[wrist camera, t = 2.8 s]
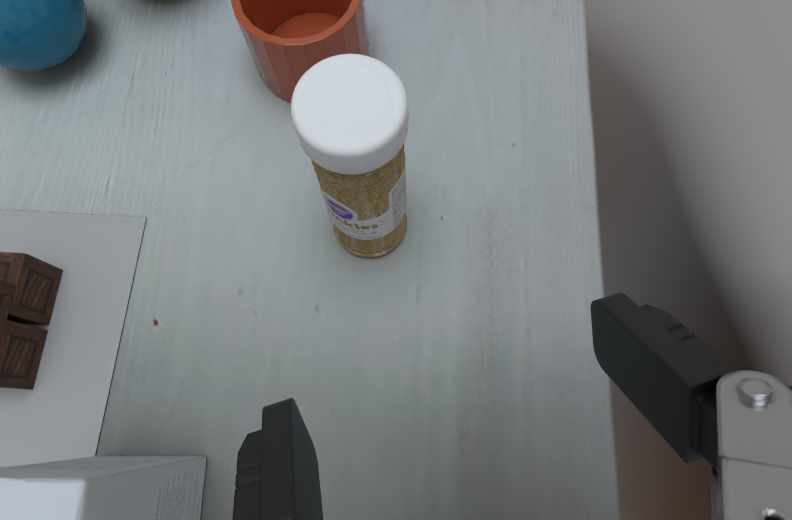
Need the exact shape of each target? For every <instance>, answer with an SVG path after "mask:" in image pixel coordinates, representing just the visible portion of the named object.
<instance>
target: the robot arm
mask: <svg viewBox="0 0 792 520" xmlns="http://www.w3.org/2000/svg"><path fill="white" fill-rule="evenodd" d="M591 319H592V333H593V346H594V352H595V355H596V358H597V360H598V362H599V364H600V366H601V368H602V369H603V370H604V372H605V373H606V374H607V375H608V376H609V377H610V378H611V379H612V381H613V382H614V383H615V384H616V385H617V386H618V387H619V388H620V390H621V391H622V392H623V393H624V394H625V395H626V396H627V397H628V399H629V400H630V401H631V402H632V403H633V404H634V405H635V406H636V408H637V409H638V410H639V411H640V412H641V413H642V414H643V415H644V417H645V418H646V419H647V420H648V421H649V422H650V423H651V424H652V425H653V427H654V428H655V429H656V430H657V431H658V432H659V433H660V434H661V436H662V437H663V438H664V439H665V440H666V441H667V442H668V443H669V445H670V446H671V447H672V448H673V449H674V450H675V451H676V453H677V454H678V455H679V456H680V457H681V458H682V459H683V460H684V462H685V463H686V464H687V463H689V462H693V461H695V460H698V459H701V458H705V459H706V460H707V461H708V462H709V464H710V465H711V509H712V510H711V512H712V520H792V387H790V386H788V385H786V384H785V383H784V382H782V381H781V380H779V379H777V378H775V377H773V376H771V375H768V374H765V373H761V372H756V371H741V370H740V369H738V368H737V367H736V366H734V365H733V364H732V363H731V362H729V361H728V360H727V359H726V358H724V357H723V356H722V355H721V354H719V353H718V352H717V351H716V350H714V349H713V348H712V347H711V346H709V345H708V344H707V343H706V342H704V341H703V340H702V339H700V338H699V337H698V336H695V335H694V333H693V332H692V331H690V330H689V329H688V328H687V327H683V325H682V323H680V322H679V321H678V320H677V319H675V318H674V317H673V316H672V315H670V314H669V313H668V312H666V311H663V310H660V309H658V308H655V307H653V306H650V305H644V306H640V307H639V306H638V305H637V304H636V303H634V302H633V301H632V300H631V299H630V298H628V297H627V296H626V295H625V294H623V293H616V294H613V295H611V296H607V297H604V298H601V299H598V300H595V301H593V302H592V303H591ZM235 486H236V489H235V496H234V508H233V520H323V512H322V502H321V491H320V480H319V470H318V461H317V456H316V452H315V448H314V445H313V442H312V440H311V437H310V435H309V433H308V430H307V428H306V426H305V423H304V421H303V419H302V416H301V414H300V412H299V409H298V407H297V405H296V403H295V401H294V399H293V398H290V399H287V400H283V401H280V402H277V403H274V404H271V405H268V406H265V407H263V411H262V430H259V431H256V432H252V433H249V434H247V436H246V438H245V440H244V442H243V444H242V446H241V448H240V450H239V452H238V458H237V474H236V483H235Z"/></svg>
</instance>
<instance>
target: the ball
mask: <svg viewBox="0 0 792 520" xmlns="http://www.w3.org/2000/svg"><path fill="white" fill-rule="evenodd" d="M86 23H87V9H86V6H85V3H84V0H0V66H3V67H6V68H9V69H13V70H18V71H28V70H45V69H48V68H51V67H53V66H56V65H58V64H61V63H63V62H64V61H65V60H66V59H68V58H69V57H70V56H71V55H73V54H74V53H75V52H76V50H77V49H78V47H79V45H80V44H81V42H82V41H83V38H84V35H85V30H86Z"/></svg>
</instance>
